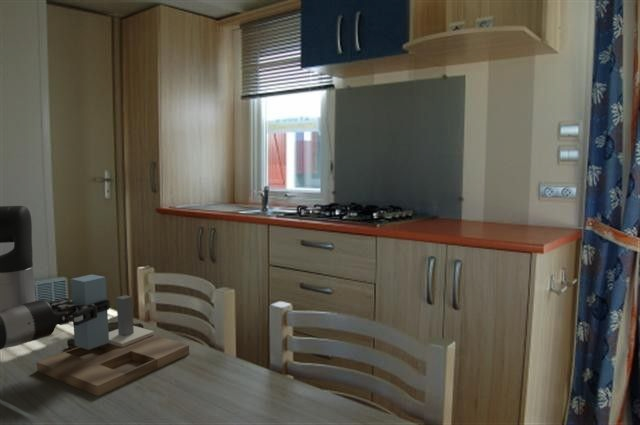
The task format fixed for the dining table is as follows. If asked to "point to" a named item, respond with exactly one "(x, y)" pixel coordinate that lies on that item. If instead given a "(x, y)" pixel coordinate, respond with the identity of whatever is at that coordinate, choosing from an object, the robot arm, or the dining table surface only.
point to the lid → (126, 325)
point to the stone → (111, 327)
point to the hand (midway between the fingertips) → (100, 302)
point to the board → (111, 363)
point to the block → (84, 293)
